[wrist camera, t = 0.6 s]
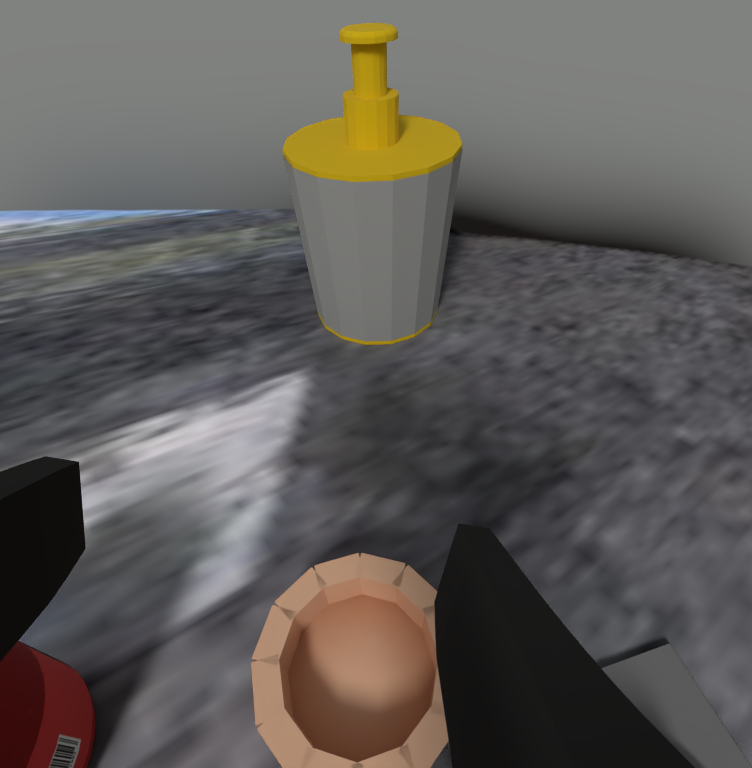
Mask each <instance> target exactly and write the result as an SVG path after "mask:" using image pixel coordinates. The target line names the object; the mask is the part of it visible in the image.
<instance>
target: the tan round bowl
mask: <svg viewBox="0 0 752 768" xmlns="http://www.w3.org/2000/svg"><path fill="white" fill-rule="evenodd" d="M314 566H315V570H314V569H313V568H312V567H311V568H310V569H309V570H308V571H307V572H306V573H305V574H304V575H302V576H301V577H300V578H299V579H298V580H297V581H296V582H295V583H294V584H293V585H292V586H291V587H290V588H289V589H288V590H287V591H286V592H284V593H283V594H282V595H281V596H280V597H279V598H278V599H277V600H276V601H275V603H276V605H277V606H275V605H272V608H271V610H270V613H269V615H268V618H267V620H266V623H265V626H264V628H263V631H262V633H261V636H260V638H259V641H258V644H257V646H256V649H255V651H254V654H253V656H252V659H253V660H254V662H251V668H252V682H253V695H254V709H255V722H256V726H258V727H259V728H258V729H257V730H258V732H259V733H260V735H261V736H262V738H263V739H264V741H265V742H266V744H267V745H268V747H269V748H270V750H271V751H272V753H273V754H274V756H275V757H276V759H277V760H278V762H279V763H280V765H281V766H282V768H430V767H431V766H432V764H433V763H434V761H435V760H436V758H437V757H438V756H439V754H440V753H441V751H442V750H443V748H444V747H445V745H446V744H447V742H448V741H449V740H448V733H447V727H446V720H445V713H444V707H443V700H442V693H441V686H440V679H439V673H438V665H437V658H436V639H435V609H434V601H435V598H436V595H437V591H436V590H435V589H434V588H433V587H432V586H431V585H430V584H429V583H428V582H427V581H426V580H424V579H423V578H422V577H421V576H420V575H419V574H418V573H417V572H416V571H415V570H414V569H412V568H411V567H410V566H409V565H408V566H407V567H406V568H405V563H403V562H398V561H394V560H390V559H386V558H382V557H378V556H373V555H369V554H365V553H361V556H360V557H359V553H356V554H352V555H349V556H345V557H342V558H338V559H335V560H331V561H328V562H324V563H321V564H317V565H314Z"/></svg>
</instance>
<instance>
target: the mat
mask: <svg viewBox="0 0 752 768" xmlns="http://www.w3.org/2000/svg"><path fill="white" fill-rule="evenodd" d="M601 669H602V670H603V671H604V672H605V673H606V674H607V676H608V677H609V678H610V679H611V680H612V681H613V682H614V684H615V685H616V686H617V687H618V688H619V689H620V690H621V691H622V692H623V694H624V695H625V696H626V697H627V698H628V699H629V700H630V701H631V702H632V703H633V704H634V705H635V706H636V708H637V709H638V710H639V711H640V712H641V713H642V714H643V715H644V716H645V717H646V718H647V719H648V720H649V721H650V722H651V723H652V724H653V725H654V726H655V727H656V728H657V729H658V730H659V731H660V732H661V733H662V734H663V735H664V737H665V738H666V739H667V740H668V741H669V742H670V743H671V744H672V745H673V746H674V747H675V748H676V749H677V750H678V751H679V752H680V753H681V754H682V755H683V756H684V757H685V758H686V759H687V760H688V761H689V762H690V763H691V764H692V765H693V766H694V767H695V768H752V767H751V766H750V764H749V763H748V761H747V760H746V758H745V757H744V755H743V754H742V752H741V751H740V749H739V748H738V746H737V745H736V743H735V742H734V740H733V739H732V737H731V736H730V734H729V733H728V731H727V730H726V728H725V727H724V725H723V724H722V722H721V721H720V719H719V717H718V716H717V714H716V713H715V711H714V710H713V708H712V707H711V705H710V704H709V702H708V701H707V699H706V698H705V696H704V695H703V693H702V692H701V690H700V689H699V687H698V686H697V684H696V683H695V681H694V680H693V678H692V677H691V675H690V674H689V672H688V671H687V669H686V668H685V666H684V665H683V663H682V662H681V660H680V658H679V657H678V655H677V654H676V652H675V651H674V649H673V648H672V646H671V645H670V643H669V644H666V645H664V646H661V647H658V648H656V649H653V650H650V651H647V652H645V653H642V654H639V655H636V656H634V657H631V658H628V659H625V660H623V661H620V662H617V663H614V664H612V665H609V666H606V667H603V668H601ZM447 745H448V748H449V751H450V747H449V741H448V742H447ZM450 755H451V753H450Z"/></svg>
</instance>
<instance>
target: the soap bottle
mask: <svg viewBox="0 0 752 768" xmlns="http://www.w3.org/2000/svg"><path fill="white" fill-rule="evenodd" d="M339 36H340V37H339V38H340V41H341V42H344V43H350V44H351V50H352V69H353V85H354V89H352V90H348V91H346V92H345V93H343V108H344V109H343V110H344V117H341V118H334V119H328V120H325V121H322V122H318V123H316V124H312V125H310V126H306V127H303V128H302V129H300V130H299V131H297V132H295V133H294V134H292V135H291V136H289V137H288V138H287V139H286V142H285V145H284V147H283V158H284V163H285V167H286V172H287V176H288V180H289V185H290V190H291V194H292V198H293V203H294V208H295V212H296V217H297V221H298V226H299V230H300V234H301V239H302V243H303V248H304V252H305V257H306V261H307V266H308V270H309V275H310V279H311V284H312V288H313V293H314V297H315V302H316V306H317V311H318V315H319V317H320V319H321V321H322V322H323V324H324V326H325V328H326V329H328V330H329V331H331V332H332V333H334V334H335V335H337V336H338V337H340V338H342V339H344V340H348V341H352V342H356V343H361V344H365V345H374V344H393V343H396V342H399V341H403V340H406V339H409V338H412V337H415V336H416V335H418V334H419V333H420V332H422V331H423V330H425V329H426V328H427V327H429V326H430V325H431V323H432V321H433V319H434V317H435V315H436V313H437V311H438V304H439V297H440V291H441V284H442V278H443V271H444V265H445V259H446V252H447V246H448V239H449V233H450V226H451V220H452V213H453V207H454V200H455V193H456V187H457V181H458V174H459V168H460V161H461V155H462V141H461V139H460V137H459V134H458V132H457V131H455V130H453V129H452V128H450V127H448V126H446V125H445V124H443V123H441V122H437V121H433V120H429V119H425V118H421V117H417V116H407V115H398V106H399V104H398V103H399V100H398V99H399V94H398V91H396V90H394V89H392V88H387V46H386V45H387V44H386V42H389V41H394V40H396V39H397V38H398V31H397V29H396V28H395V27H394V26H393V25H390V24H384V23H365V24H353V25H349V26H346V27H344V28H343V29H341V30H340V34H339Z"/></svg>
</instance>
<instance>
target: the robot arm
mask: <svg viewBox="0 0 752 768" xmlns="http://www.w3.org/2000/svg"><path fill="white" fill-rule="evenodd" d="M84 550H85V535H84V522H83V509H82V496H81V483H80V470H79V462H76V461H70V460H64V459H58V458H52V457H46V456H45V457H42V458H39V459H36V460H33V461H29V462H26V463H23V464H21V465H18V466H15V467H12V468H9V469H7V470H4V471H1V472H0V662H1V660H2V659H3V658H4V657H5V656H6V655H7V653H8V652H9V651H10V650H11V649H12V647H13V646H14V645H15V644H16V643H17V641H18V640H19V639H20V638H21V637H22V635H23V634H24V633H25V632H26V631H27V629H28V628H29V627H30V626H31V625H32V623H33V622H34V621H35V620H36V619H37V617H38V616H39V615H40V614H41V613H42V611H43V610H44V609H45V608H46V606H47V605H48V604H49V603H50V601H51V600H52V599H53V597H54V596H55V594H56V593H57V591H58V590H59V588H60V587H61V586H62V584H63V583H64V581H65V580H66V578H67V577H68V575H69V574H70V572H71V570H72V569H73V567H74V566H75V564H76V563H77V561H78V559H79V558H80V556H81V555H82V553H83V552H84ZM434 609H435V639H436V658H437V665H438V673H439V679H440V686H441V693H442V700H443V707H444V713H445V720H446V727H447V733H448V740H449V747H450V753H451V760H452V766H453V768H695V767H694V766H693V765H692V764H691V763H690V762H689V761H688V760H687V759H686V758H685V757H684V756H683V755H682V754H681V753H680V752H679V751H678V750H677V749H676V748H675V747H674V746H673V745H672V744H671V743H670V742H669V741H668V740H667V739H666V738H665V737H664V735H663V734H662V733H661V732H660V731H659V730H658V729H657V728H656V727H655V726H654V725H653V724H652V723H651V722H650V721H649V720H648V719H647V718H646V717H645V716H644V715H643V714H642V713H641V712H640V711H639V710H638V709H637V708H636V706H635V705H634V704H633V703H632V702H631V701H630V700H629V699H628V698H627V697H626V696H625V695H624V694H623V692H622V691H621V690H620V689H619V688H618V687H617V686H616V685H615V684H614V682H613V681H612V680H611V679H610V678H609V677H608V676H607V674H606V673H605V672H604V671H603V670H602V669H601V668H600V666H599V665H598V664H597V663H596V662H595V661H594V660H593V658H592V657H591V656H590V655H589V654H588V653H587V652H586V651H585V649H584V648H583V647H582V646H581V645H580V643H579V642H578V641H577V640H576V639H575V637H574V636H573V635H572V634H571V633H570V631H569V630H568V629H567V628H566V627H565V625H564V624H563V623H562V622H561V620H560V619H559V618H558V617H557V615H556V614H555V613H554V612H553V610H552V609H551V608H550V607H549V605H548V604H547V603H546V602H545V600H544V599H543V598H542V597H541V595H540V594H539V593H538V591H537V590H536V589H535V588H534V586H533V585H532V584H531V582H530V581H529V580H528V578H527V577H526V576H525V574H524V573H523V572H522V571H521V569H520V568H519V567H518V565H517V564H516V563H515V561H514V560H513V559H512V557H511V556H510V555H509V553H508V552H507V551H506V549H505V548H504V547H503V545H502V544H501V543H500V542H499V540H498V539H497V538H496V536H495V535H494V534H493V533H492V531H491V530H490V529H489V528H482V527H476V526H470V525H464V524H458V527H457V530H456V533H455V536H454V540H453V543H452V546H451V549H450V553H449V556H448V559H447V562H446V566H445V569H444V572H443V575H442V579H441V582H440V585H439V588H438V592H437V595H436V598H435V601H434Z"/></svg>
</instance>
